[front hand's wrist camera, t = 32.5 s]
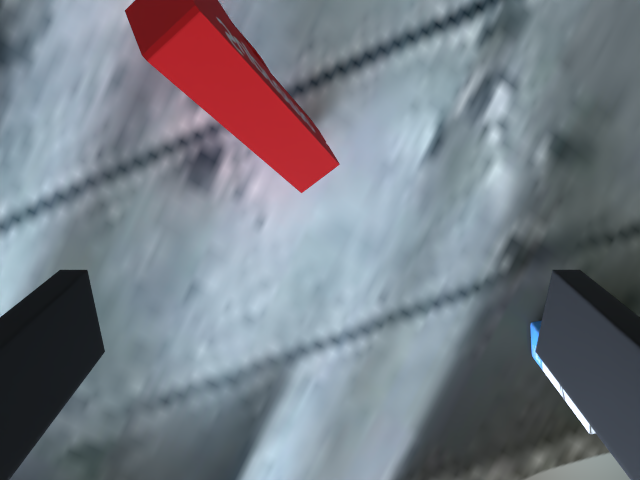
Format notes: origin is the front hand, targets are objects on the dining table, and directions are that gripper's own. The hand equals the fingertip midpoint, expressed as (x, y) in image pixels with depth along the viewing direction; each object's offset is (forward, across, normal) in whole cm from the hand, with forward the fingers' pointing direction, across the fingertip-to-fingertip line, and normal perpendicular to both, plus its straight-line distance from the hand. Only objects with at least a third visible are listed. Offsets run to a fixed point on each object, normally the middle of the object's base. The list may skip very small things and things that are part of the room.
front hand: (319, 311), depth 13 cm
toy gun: (+31, -6, +6) cm, 32 cm away
